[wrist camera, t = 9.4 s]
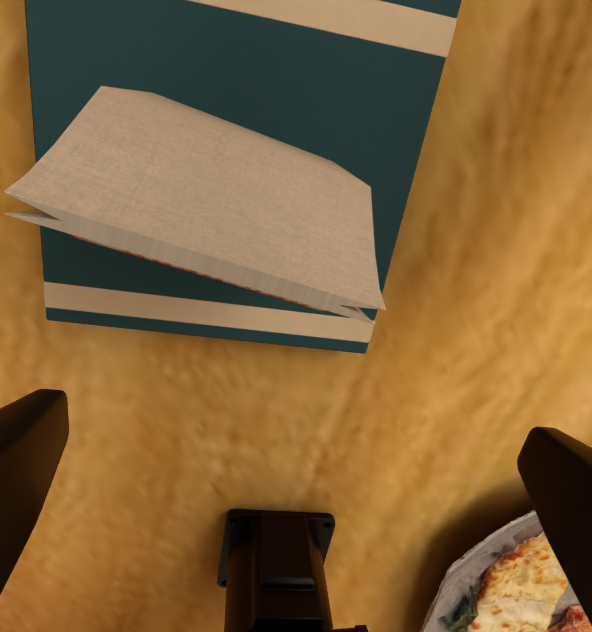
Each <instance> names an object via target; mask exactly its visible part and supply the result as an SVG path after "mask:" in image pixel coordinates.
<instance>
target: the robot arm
mask: <svg viewBox="0 0 592 632" xmlns="http://www.w3.org/2000/svg"><path fill="white" fill-rule="evenodd" d="M68 434H69V419H68V403H67V396H66V393H65V392H64V391H62V390H51V389H39V390H36V391H34V392H32V393H30V394H28V395H26V396H24V397H22V398H20V399H18V400H16V401H14V402H12V403H11V404H9V405H7V406H5V407H3V408H1V409H0V594H1V592H2V590H3V588H4V587H5V585H6V583H7V581H8V579H9V577H10V575H11V573H12V571H13V569H14V567H15V565H16V563H17V561H18V559H19V557H20V555H21V553H22V551H23V549H24V547H25V545H26V543H27V541H28V539H29V537H30V535H31V533H32V531H33V529H34V527H35V525H36V522H37V520H38V517H39V515H40V512H41V510H42V507H43V504H44V502H45V499H46V496H47V494H48V491H49V488H50V486H51V483H52V480H53V478H54V475H55V472H56V470H57V467H58V464H59V462H60V459H61V456H62V454H63V451H64V448H65V446H66V443H67V439H68ZM517 466H518V470H519V473H520V475H521V478H522V480H523V482H524V485H525V487H526V490H527V492H528V495H529V497H530V499H531V502H532V504H533V507H534V509H535V512H536V514H537V517H538V519H539V521H540V524H541V526H542V529H543V531H544V533H545V536H546V538H547V540H548V542H549V544H550V546H551V548H552V550H553V552H554V554H555V556H556V558H557V560H558V562H559V564H560V566H561V568H562V570H563V572H564V574H565V576H566V578H567V579H568V581H569V583H570V585H571V587H572V589H573V591H574V593H575V595H576V597H577V599H578V601H579V603H580V605H581V607H582V608H583V610H584V612H585V614H586V616H587V618H588V620H589V622H590V624H591V626H592V448H591V447H589V446H587V445H585V444H584V443H582V442H580V441H578V440H576V439H574V438H573V437H571V436H569V435H567V434H565V433H563V432H561V431H560V430H558V429H555V428H549V427H535V428H533V429H532V430H531V431H530V432H529V434H528V436H527V439H526V441H525V443H524V445H523V447H522V449H521V451H520V454H519V456H518V460H517ZM334 527H335V520H334V517H333V515H331V514H327V513H306V512H285V511H264V510H243V509H233V510H230V511H229V512H228V513H227V516H226V523H225V530H224V537H223V543H222V550H221V557H220V564H219V570H218V578H217V584H218V586H220V587H223V588H226V606H225V626H224V632H368V630H367V626H366V625H355V628H345V629H333V624H332V618H331V611H330V605H329V598H328V592H327V586H326V579H325V573H324V567H323V565H324V562H325V558H326V555H327V551H328V548H329V544H330V541H331V538H332V534H333V531H334Z"/></svg>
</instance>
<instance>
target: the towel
mask: <svg viewBox="0 0 592 632" xmlns="http://www.w3.org/2000/svg"><path fill="white" fill-rule="evenodd" d="M460 4H461V0H25V14H26V29H27V43H28V58H29V72H30V87H31V101H32V116H33V130H34V144H35V159H36V163H37V162H38V161H39V160H40V159H41V158H42V157H43V156H44V155H45V154H46V152H47V151H48V150H49V149H50V148H51V147H52V146H53V145H54V144H55V143H56V141H57V140H58V139H59V138H60V136H61V135H62V134H63V133H64V131H65V130H66V129H67V128H68V126H69V125H70V124H71V123H72V121H73V120H74V119H75V118H76V117H77V115H78V114H79V113H80V112H81V110H82V109H83V108H84V107H85V105H86V104H87V103H88V102H89V100H90V99H91V98H92V97H93V95H94V94H95V93H96V92H97V91H98V89H99V88H100V87H101V86H106V87H113V88H121V89H128V90H136V91H143V92H151V93H155V94H158V95H160V96H163V97H166V98H168V99H171V100H173V101H176V102H179V103H181V104H184V105H187V106H189V107H192V108H194V109H197V110H200V111H202V112H205V113H208V114H210V115H213V116H215V117H218V118H221V119H223V120H226V121H228V122H231V123H234V124H236V125H239V126H242V127H244V128H247V129H249V130H252V131H255V132H257V133H260V134H263V135H265V136H268V137H270V138H273V139H276V140H278V141H281V142H283V143H286V144H289V145H291V146H294V147H297V148H299V149H302V150H304V151H307V152H310V153H312V154H315V155H318V156H320V157H323V158H325V159H328V160H331V161H333V162H335V163H336V164H337V165H339V166H340V167H342V168H343V169H345V170H346V171H348V172H349V173H351V174H352V175H354V176H355V177H357V178H358V179H360V180H361V181H363V182H364V183H365V184H367V185H368V186H370V187H371V199H372V214H373V230H374V245H375V257H376V265H377V272H378V280H379V287H380V291H381V295H382V291H383V288H384V284H385V280H386V276H387V273H388V269H389V265H390V262H391V258H392V254H393V251H394V247H395V243H396V240H397V236H398V232H399V229H400V225H401V221H402V218H403V214H404V210H405V206H406V203H407V199H408V195H409V192H410V188H411V184H412V181H413V177H414V173H415V170H416V166H417V162H418V159H419V155H420V151H421V148H422V144H423V140H424V136H425V133H426V129H427V125H428V122H429V118H430V114H431V111H432V107H433V103H434V100H435V96H436V92H437V89H438V85H439V81H440V78H441V74H442V70H443V66H444V63H445V59H446V58H447V56H448V53H449V49H450V45H451V42H452V38H453V34H454V31H455V27H456V23H457V15H458V11H459V8H460ZM40 231H41V246H42V260H43V275H44V281H43V287H44V301H45V307H46V318H47V320H52V321H62V322H71V323H80V324H90V325H99V326H109V327H118V328H128V329H137V330H146V331H156V332H165V333H175V334H184V335H193V336H203V337H212V338H222V339H231V340H240V341H250V342H259V343H269V344H278V345H288V346H297V347H306V348H316V349H325V350H335V351H344V352H353V353H363V354H365V353H366V350H367V346H368V343H369V341H370V338H371V334H372V331H373V327H374V324H370V323H367V322H364V321H360V320H357V319H354V318H350V317H347V316H344V315H340V314H337V313H333V312H330V311H327V310H317V309H313V308H310V307H307V306H303V305H300V304H297V303H293V302H290V301H287V300H283V299H280V298H276V297H273V296H270V295H266V294H263V293H260V292H256V291H253V290H250V289H246V288H243V287H239V286H236V285H233V284H229V283H226V282H223V281H219V280H216V279H213V278H209V277H206V276H202V275H199V274H196V273H192V272H189V271H186V270H182V269H179V268H176V267H172V266H169V265H165V264H162V263H159V262H155V261H152V260H149V259H145V258H142V257H139V256H135V255H132V254H128V253H125V252H122V251H118V250H115V249H112V248H108V247H105V246H102V245H98V244H95V243H91V242H88V241H85V240H81V239H78V238H75V237H74V236H72V235H70V234H69V233H65V232H62V231H59V230H55V229H52V228H49V227H45V226H42V225H40ZM358 308H359V309H360V310H361V311H362V312H363V313H364V314H365V315H366V316H367V317H368V318H369V319H370V320H372V321H373V322H374V323H375V317H376V313H377V310H378V309H371V308H362V307H358Z"/></svg>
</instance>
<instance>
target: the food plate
mask: <svg viewBox="0 0 592 632" xmlns="http://www.w3.org/2000/svg"><path fill="white" fill-rule="evenodd" d="M450 567H451V568H449V567H448V569H447V570H448V571H446V575H445V578H444V579H443V581H442V582H441V586H439V591H438V594H437V595H436V597H434V601H433V602H431V607H430V608H429V611H428V613H427V616H426V618H425V620H424V625H423V627H422V629H421V630H420V632H592V626H591V624H590V622H589V620H588V618H587V616H586V614H585V612H584V610H583V608H582V607H581V605H580V603H579V601H578V599H577V597H576V595H575V593H574V591H573V589H572V587H571V585H570V583H569V581H568V579H567V578H566V576H565V574H564V572H563V570H562V568H561V566H560V564H559V562H558V560H557V558H556V556H555V554H554V552H553V550H552V548H551V546H550V544H549V542H548V540H547V538H546V536H545V533H544V531H543V529H542V526H541V524H540V521H539V519H538V517H537V514H536V512H535V509H534V510H532V511H531V512H530V513H526V515H523V516H522V517H518V518H516V520H515V521H511V522H509V523H508V524H507V525H505V526H504V527H501V529H499V530H497V531H496V532H494V533H492V534H490V536H488V537H486V539H484V540H483V541H482V542H480V543H478V544H477V545H475V546H474V547H473V548H472V549H470V550H468V551H467V552H466V553H465V554H464V556H462V557H461V558H460V559H458V560H457V561H456V562H454V563H452V564H451V565H450Z"/></svg>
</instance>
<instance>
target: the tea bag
mask: <svg viewBox="0 0 592 632" xmlns="http://www.w3.org/2000/svg"><path fill="white" fill-rule="evenodd" d="M3 192H4V193H6V194H8V195H10V196H12V197H14V198H16V199H18V200H20V201H22V202H25V203H27V204H29V205H31V206H33V207H35V208H37V209H36V210H31V211H25V212H15V213H2V214H5V215H8V216H12V217H15V218H18V219H22V220H25V221H28V222H32V223H35V224H39V225H42V226H45V227H49V228H52V229H55V230H59V231H62V232H65V233H69V234H70V235H72V236H74V237H75V238H78V239H81V240H85V241H88V242H91V243H95V244H98V245H102V246H105V247H108V248H112V249H115V250H118V251H122V252H125V253H128V254H132V255H135V256H139V257H142V258H145V259H149V260H152V261H155V262H159V263H162V264H165V265H169V266H172V267H176V268H179V269H182V270H186V271H189V272H192V273H196V274H199V275H202V276H206V277H209V278H213V279H216V280H219V281H223V282H226V283H229V284H233V285H236V286H239V287H243V288H246V289H250V290H253V291H256V292H260V293H263V294H266V295H270V296H273V297H276V298H280V299H283V300H287V301H290V302H293V303H297V304H300V305H303V306H307V307H310V308H313V309H317V310H327V311H330V312H333V313H337V314H340V315H344V316H347V317H350V318H354V319H357V320H360V321H364V322H367V323H370V324H374V325H377V324H375V323H374V322H373V321H372V320H370V319H369V318H368V317H367V316H366V315H365V314H364V313H363V312H362V311H361V310H360V309H359V308H358V307H362V308H371V309H380V310H386V308H385V305H384V301H383V298H382V295H381V291H380V287H379V280H378V272H377V265H376V257H375V245H374V230H373V214H372V199H371V187H370V186H368V185H367V184H365V183H364V182H363V181H361V180H360V179H358V178H357V177H355V176H354V175H352V174H351V173H349V172H348V171H346V170H345V169H343V168H342V167H340V166H339V165H337V164H336V163H335V162H333V161H331V160H328V159H325V158H323V157H320V156H318V155H315V154H312V153H310V152H307V151H304V150H302V149H299V148H297V147H294V146H291V145H289V144H286V143H283V142H281V141H278V140H276V139H273V138H270V137H268V136H265V135H263V134H260V133H257V132H255V131H252V130H249V129H247V128H244V127H242V126H239V125H236V124H234V123H231V122H228V121H226V120H223V119H221V118H218V117H215V116H213V115H210V114H208V113H205V112H202V111H200V110H197V109H194V108H192V107H189V106H187V105H184V104H181V103H179V102H176V101H173V100H171V99H168V98H166V97H163V96H160V95H158V94H155V93H151V92H143V91H136V90H128V89H121V88H113V87H106V86H101V87H100V88H99V89H98V91H97V92H96V93H95V94H94V95H93V97H92V98H91V99H90V100H89V102H88V103H87V104H86V105H85V107H84V108H83V109H82V110H81V112H80V113H79V114H78V115H77V117H76V118H75V119H74V120H73V121H72V123H71V124H70V125H69V126H68V128H67V129H66V130H65V131H64V133H63V134H62V135H61V136H60V138H59V139H58V140H57V141H56V143H55V144H54V145H53V146H52V147H51V148H50V149H49V150H48V151H47V152H46V154H45V155H44V156H43V157H42V158H41V159H40V160H39V161H38V162H37V163H36V164H35V165H34V166H33V167H32V168H31V170H30V171H29V172H28V173H27V174H26V175H25V176H23V177H22V178H21V179H19V180H18V181H17V182H15V183H14V184H13V185H11V186H10V187H9V188H7V189H6V190H5V191H3ZM377 326H378V325H377Z"/></svg>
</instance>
